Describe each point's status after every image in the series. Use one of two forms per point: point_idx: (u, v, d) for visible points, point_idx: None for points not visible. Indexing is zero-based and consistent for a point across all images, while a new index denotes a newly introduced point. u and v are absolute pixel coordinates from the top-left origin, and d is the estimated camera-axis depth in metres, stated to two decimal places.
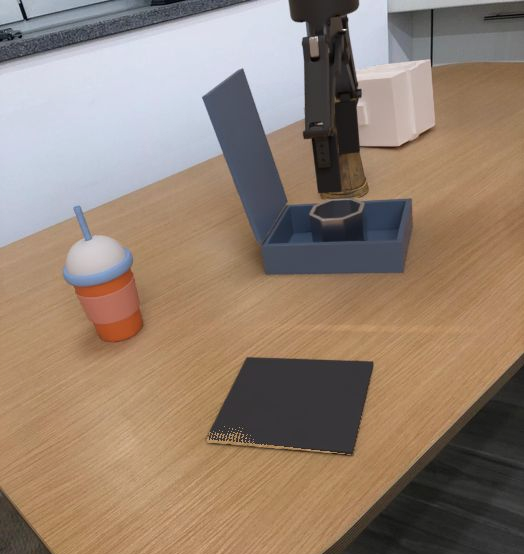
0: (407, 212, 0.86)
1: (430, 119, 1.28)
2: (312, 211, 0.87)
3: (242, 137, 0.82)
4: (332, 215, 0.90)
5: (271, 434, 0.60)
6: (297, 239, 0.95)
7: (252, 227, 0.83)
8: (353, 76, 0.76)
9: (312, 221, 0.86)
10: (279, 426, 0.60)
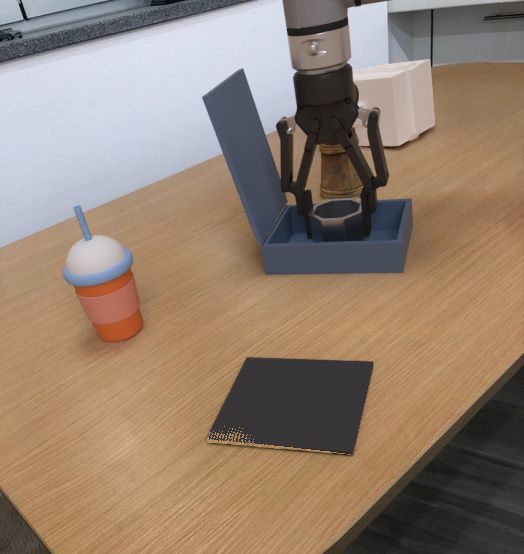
0: (407, 212, 0.86)
1: (430, 119, 1.28)
2: (312, 211, 0.87)
3: (242, 137, 0.82)
4: (332, 215, 0.90)
5: (271, 434, 0.60)
6: (297, 239, 0.95)
7: (252, 227, 0.83)
8: (292, 171, 0.86)
9: (312, 221, 0.86)
10: (279, 426, 0.60)
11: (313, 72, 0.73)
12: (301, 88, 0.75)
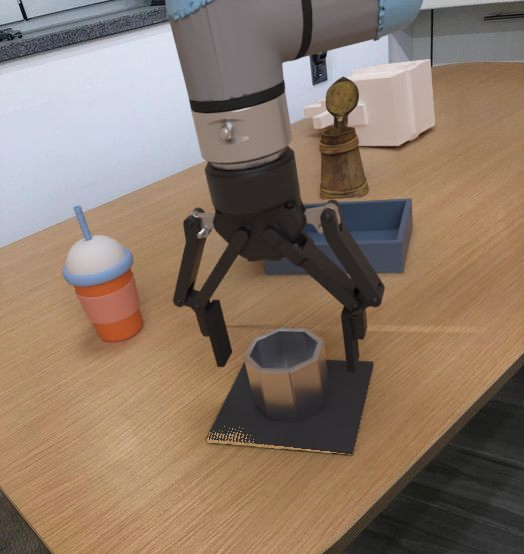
0: (407, 212, 0.86)
1: (430, 119, 1.28)
2: (249, 351, 0.61)
3: None
4: (280, 349, 0.64)
5: (271, 434, 0.60)
6: None
7: None
8: (195, 278, 0.59)
9: (248, 368, 0.60)
10: (279, 426, 0.60)
11: (231, 166, 0.47)
12: (215, 187, 0.48)
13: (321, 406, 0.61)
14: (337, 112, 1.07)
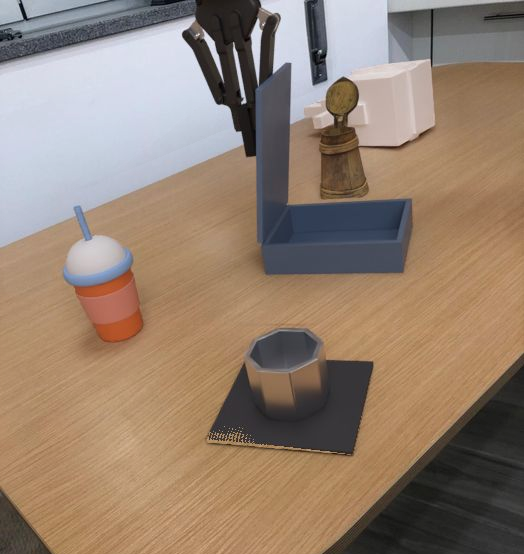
0: (407, 212, 0.86)
1: (430, 119, 1.28)
2: (249, 351, 0.61)
3: (274, 135, 0.81)
4: (280, 349, 0.64)
5: (271, 434, 0.60)
6: (297, 239, 0.95)
7: (258, 226, 0.83)
8: (222, 81, 0.81)
9: (248, 368, 0.60)
10: (279, 426, 0.60)
11: None
12: None
13: (321, 406, 0.61)
14: (337, 112, 1.07)
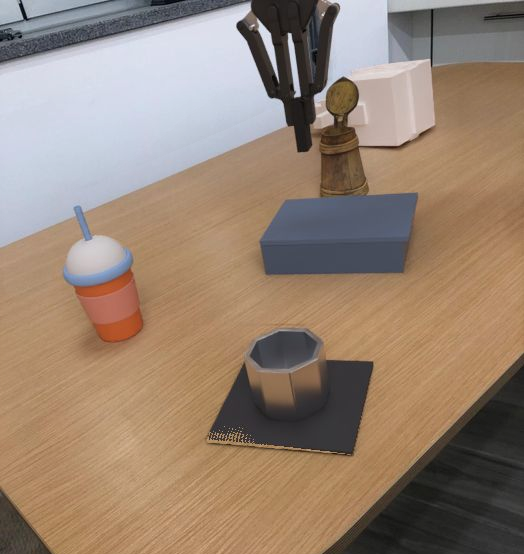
0: None
1: (430, 119, 1.28)
2: (249, 351, 0.61)
3: None
4: (280, 349, 0.64)
5: (271, 434, 0.60)
6: None
7: (276, 241, 0.84)
8: (275, 74, 0.78)
9: (248, 368, 0.60)
10: (279, 426, 0.60)
11: None
12: None
13: (321, 406, 0.61)
14: (337, 112, 1.07)
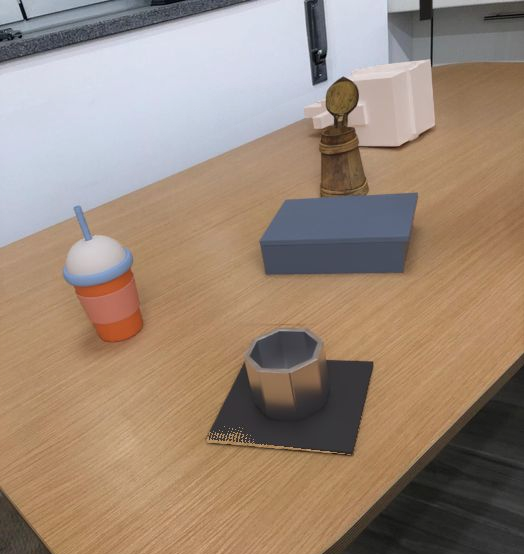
0: None
1: (430, 119, 1.29)
2: (249, 351, 0.61)
3: None
4: (280, 349, 0.64)
5: (271, 434, 0.60)
6: None
7: (276, 241, 0.84)
8: None
9: (248, 368, 0.60)
10: (279, 426, 0.60)
11: None
12: None
13: (321, 406, 0.61)
14: (337, 112, 1.07)
